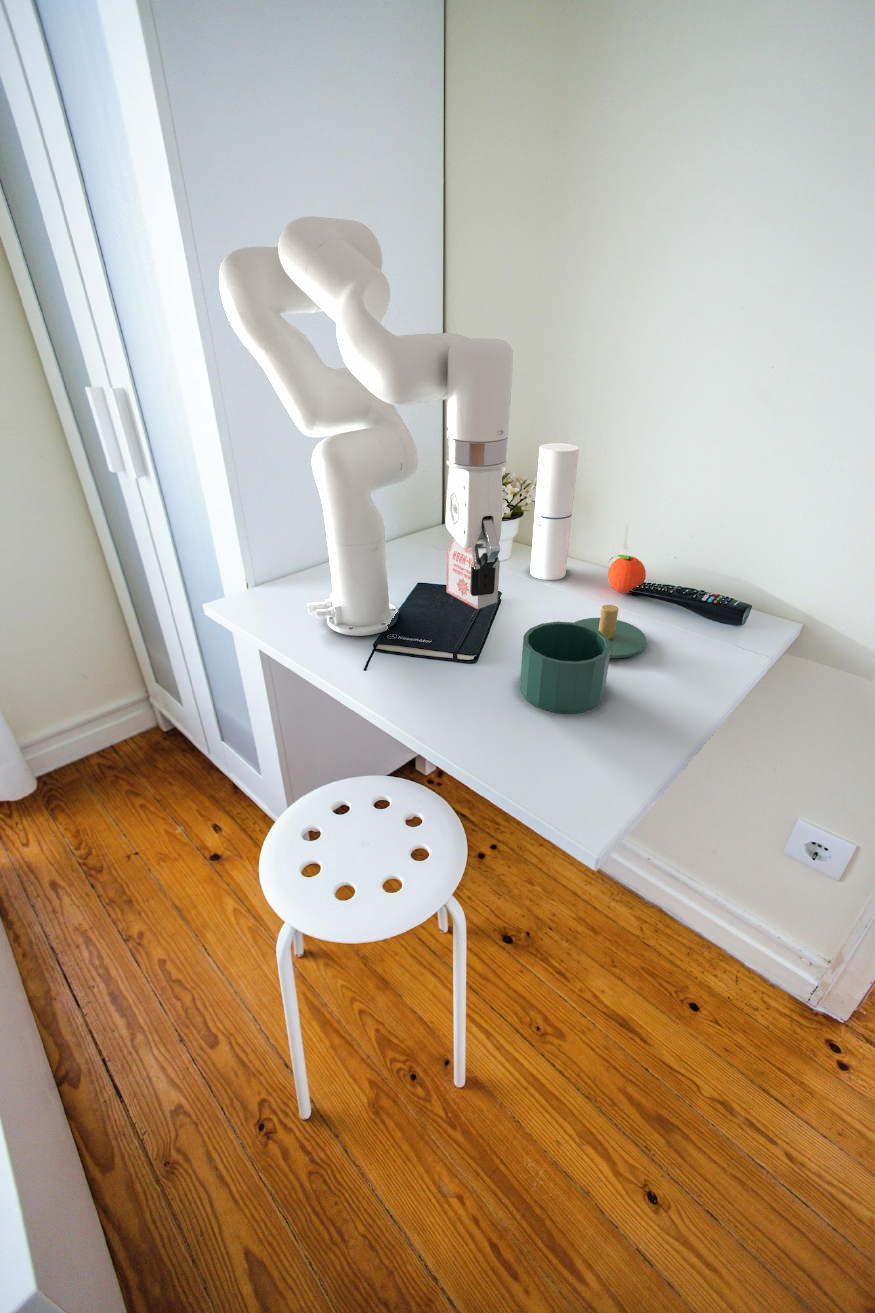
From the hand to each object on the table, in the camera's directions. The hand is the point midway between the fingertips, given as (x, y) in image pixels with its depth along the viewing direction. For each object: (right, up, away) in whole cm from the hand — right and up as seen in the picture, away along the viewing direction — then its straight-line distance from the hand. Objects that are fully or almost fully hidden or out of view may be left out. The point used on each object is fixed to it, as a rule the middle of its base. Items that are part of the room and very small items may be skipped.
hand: (472, 580), depth 83 cm
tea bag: (0, -2, +1) cm, 3 cm away
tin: (+13, -15, +3) cm, 20 cm away
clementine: (+31, +2, +32) cm, 45 cm away
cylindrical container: (+18, +6, +40) cm, 44 cm away
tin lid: (+23, -8, +15) cm, 28 cm away
